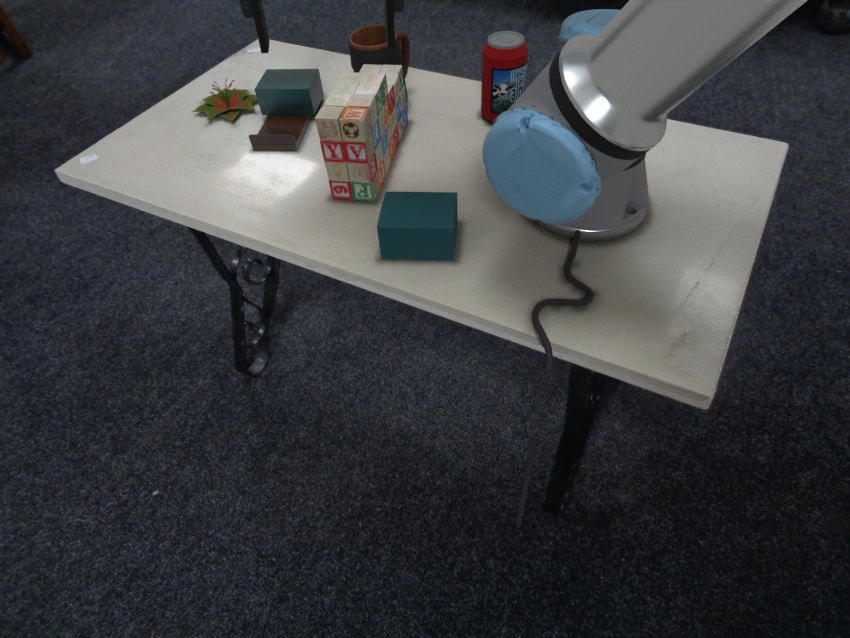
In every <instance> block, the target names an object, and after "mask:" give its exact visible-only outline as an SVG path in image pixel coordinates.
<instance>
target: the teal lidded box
mask: <svg viewBox="0 0 850 638" xmlns="http://www.w3.org/2000/svg"><path fill="white" fill-rule="evenodd" d="M254 93H255V95H256V97H257V100H256V101H257V103H258V106H259V110H260V113H261V116H266V118H265V120H264V122H263V124H262V126H261V127H260V129H259V131H258V133H256V134H253V133H252V134H249V135H248V139H249V142H250V144H251V148H252V151H254V152H255V151H256V152H258V151H259V152H261V151H264V152H267V151H268V152H270V151H271V152H273V151H274V152H275V151H277V152H281V151H282V152H292V151H293V152H295V151H297V150H298V148H299V146H300V144H301V142H302V140H303V137H304V135H305V133H306V131H307V128H308V126H309V124H310V121H311V119H312V117H313V116H316V113H317V111H318V109H319V107H320V104H321V102H322V100H323V97H324V94H325V93H324V89H323V84H322V78H321V73H320V69H319V68H268V69H267V68H266V69H265V71H264V73H263V74H262V76H261V78H260V79H259V80H258V82H257V84H256V86H255V87H254Z"/></svg>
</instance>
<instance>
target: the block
mask: <svg viewBox="0 0 850 638" xmlns="http://www.w3.org/2000/svg"><path fill="white" fill-rule="evenodd" d="M458 209H459V208H458V192H457V191H456V192H455V191H450V192H449V191H444V192H443V191H384V195H383V200H382V204H381V208H380V211H379V216H378V220H377V225H376V231H377V239H378V245H379V250H380V257H381V259H382V260H411V261H417V260H418V261H451V262H453V261H455V257H456V247H457V238H458V237H457V236H458V226H459V217H458V216H459V215H458V214H459V213H458Z"/></svg>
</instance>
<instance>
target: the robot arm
mask: <svg viewBox="0 0 850 638" xmlns="http://www.w3.org/2000/svg"><path fill="white" fill-rule="evenodd" d="M238 1H239V5H240V10H241V14H242V16H243V17H244V18H245V19H253V20H254V25H255V30H256V35H257V39H258V44H259V49H260V54H269V53H270V43H271V41H270V36H269V32H268V27H267V21H266V16H265V12H264V11H265V10H264V6H263V5H264V4H263V0H238ZM807 1H808V0H628V1H627V2H626V3H625V5H624V6H623V7H622V8H621V9H613V8H612V9H611V8H607V9H606V8H598V9H587V10H581V11H578V12H575V13H572V14H570V15H569V16H567V17H566V18H565V19H564V20H563V22H562V25H561V27H560V33H559V35H558V36H557V42H558V49H557V50H558V51H557V53H556V54H555V55H554V56H553V58H552V59H551V60H550V61H549V62H548V63H547V64H546V66H545V67H544V68H543V69H542V70H541V72H540V73H539V74H538V75H537V76H536V77H535V78H534V80H533V81H532V82H531V83H530V84H529V85H528V86H527V87H526V88H525V91H524V92H523V93H522V95H521V96H520V97H519V98H518V99H517V100H516V101H515V102H514V103H513V105H512V106H511V107H510V108H509V109H508V110H507V111H505V112H503V113H501V114H500V115H499V116H498V117H497V118H496V119H495V121H494V122H492V126H491V127H490V129H489V130H488V132H487V133H486V135H485V137H484V140H483V145H482V149H481V150H482V153H481V155H482V156H481V157H482V158H481V159H482V163H483V165H484V167H485V175H486V177H487V181H488V182H489V184H490V186H491V187H492V189H493V191H494V192H495V193H496V195H497V196H498V197H499V198H500V200H502V202H503V203H505V204H506V205H507V206H508V207H510V208H511V209H512V210H513V211H515V212H516V213H518V214H520V215H522V216H523V217H524V218H527V219H530V220H532V221H535V223H537V224H538V225H539V226H541V227H542V228H543V229H545V230H546V231H548V232H550V233H553V234H555V235H557V236H560V237H563V238H567V239H570V240H572V244H571V248H570V252H569V255H568V257H567V259H566V263H565V265H564V276H565V278H566V280H567V281H568V282H569V283H570V284H571V285H573V286H575V287H576V288H578V289H579V290H582V291H583V292H584V293H586V294H587V295H586V297H585V298H581V299H567V298H547V299H543V300H541V301H539V302H538V303H537V304H536V305H535V307H534V308H533V310H532V313H531V321H532V325H533V327H534V329H535V330H536V333H537V334H538V336H539V338H540V340H541V342H542V345H543V349H544V355H545V366H544V367H545V371H546V372H552V371H553V367H554V366H553V365H554V354H553V349H552V345H551V341H550V339H549V337H548V334H547V333H546V331H545V329H544V328H543V325H542V324H541V321H540V318H539V315H540V313H541V311H542V310H543V309H544V308H545V307H549V306H563V307H584V306H587V305H589V304H590V303H592V301H593V300H594V298H595V292H594V290H593V289H592V288H591V287H590V286H588V285H587V284H585V283H584V282H582V281H580V280H578V279H577V278H575V277H574V276H573V274H572V266H573V263H574V260H575V259H576V255H577V252H578V249H579V248H578V247H579V243H580V241H582V242H583V241H584V242H601V241H610V240H614V239H618V238H621V237H623V236H625V235H628V234H630V233H631V232H633V231H634V230H636V229H637V228H638V227H639V226H640V225H641V224H642V222H643V220H644V218H645V216H646V212H647V209H648V207H649V206H648V205H649V201H650V196H649V185H648V174H647V165H646V156H647V153H648V152H649V151H651V150H652V149H653V148H655V147H656V146H657V145H658V144H660V142H661V141H662V140H663V138H664V136H665V134H666V132H667V131H666V130H667V124H668V114H669V113H670V112H671V111H673V110H674V109H675V108H676V107H677V106H679V105H680V104H682V102H684V101H685V100H687V98H689V97H690V96H692V94H694V93H695V92H696V91H698V89H700V88H701V87H702V86H704V85H705V84H706V83H707V82H708V81H710V80H711V79H712V78H713V77H714V76H716V75H717V74H718V73H719V72H721V71H722V70H723V69H725V68H726V67H727V66H728V65H729V64H731V63H732V62H733V61H735V60H736V59H737V58H738V57H739V56H740V55H742V54H743V53H744V52H746V51H747V50H748V49H749V48H750V47H752V46H753V45H754V44H756V43H757V42H758V41H759V40H761V39H762V38H763V37H764V36H766V35H767V33H769V32H770V31H771V30H773V29H774V28H775V27H776V26H777V25H779V24H780V23H782V21H784V20H785V19H786V18H788V17H789V16H790V15H792V14H793V13H794V12H795V11H796V10H798V9H799V8H800V7H801V6H802V5H804V4H805V3H806V2H807ZM404 9H405V0H384V19H385V26H386V39H387V45H388V48H390V47H395V32H394V29H395V13H403V11H404ZM537 443H538V436H535V435H531V436H530V440H529V446H528V452H527V457H526V462H525V468H524V474H523V480H522V485H521V493H520V497H519V502H518V510H517V516H516V521H515V527H516V528H517V529H520V528H521V527H522V521H523V515H524V510H525V506H526V505H525V504H526V501H527V494H528V490H529V489H528V488H529V483H530V478H531V473H532V468H533V462H534V458H535V452H536V447H537Z"/></svg>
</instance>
